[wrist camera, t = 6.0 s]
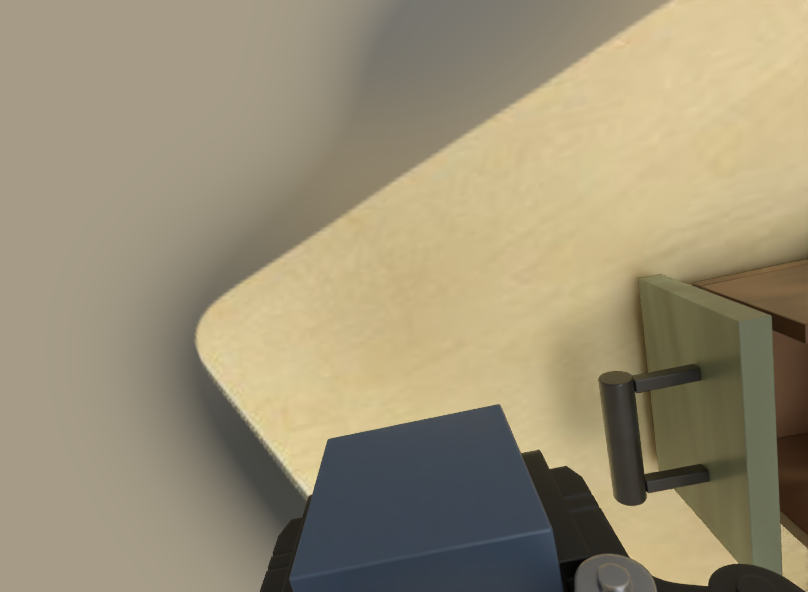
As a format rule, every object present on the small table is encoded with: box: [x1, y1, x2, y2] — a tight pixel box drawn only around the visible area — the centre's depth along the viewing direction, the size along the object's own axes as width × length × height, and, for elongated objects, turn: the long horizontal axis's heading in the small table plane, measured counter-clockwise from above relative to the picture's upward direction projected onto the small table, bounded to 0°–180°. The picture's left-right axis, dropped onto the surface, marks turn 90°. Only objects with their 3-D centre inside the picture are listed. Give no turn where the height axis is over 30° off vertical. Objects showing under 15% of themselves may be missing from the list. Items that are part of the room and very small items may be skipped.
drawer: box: [598, 259, 808, 575], centre depth 23 cm, size 18×11×8 cm, turn 102°
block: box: [289, 404, 564, 592], centre depth 11 cm, size 4×4×4 cm
